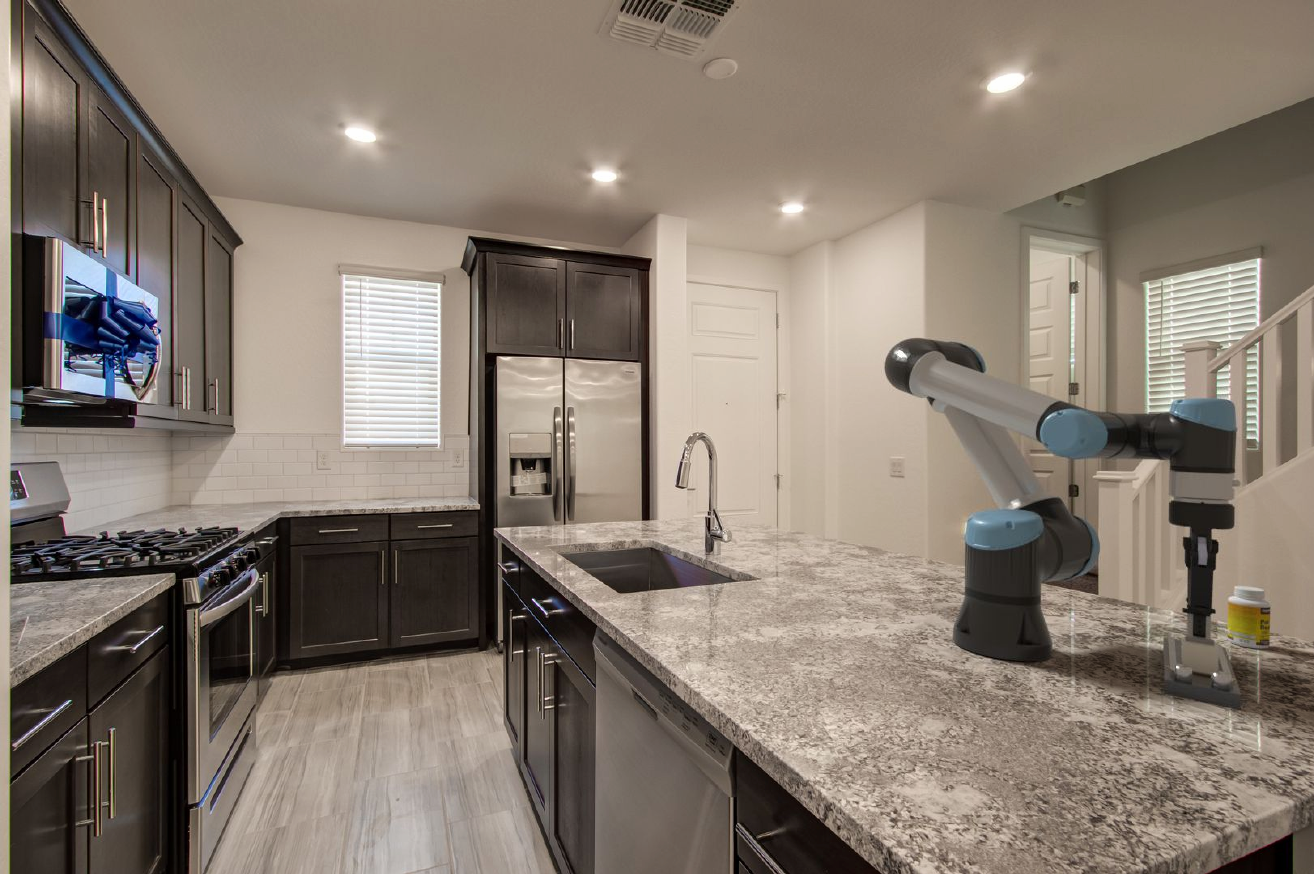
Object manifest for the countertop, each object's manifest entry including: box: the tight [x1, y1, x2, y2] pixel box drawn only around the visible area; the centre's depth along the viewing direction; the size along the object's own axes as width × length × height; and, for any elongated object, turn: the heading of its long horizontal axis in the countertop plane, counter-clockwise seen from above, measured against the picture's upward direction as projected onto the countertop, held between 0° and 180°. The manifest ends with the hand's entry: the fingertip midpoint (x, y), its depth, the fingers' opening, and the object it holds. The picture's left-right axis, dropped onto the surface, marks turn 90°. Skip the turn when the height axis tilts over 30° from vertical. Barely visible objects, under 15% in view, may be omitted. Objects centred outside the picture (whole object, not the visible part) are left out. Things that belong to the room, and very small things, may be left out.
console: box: [1162, 636, 1242, 710], centre depth 97 cm, size 8×26×4 cm, turn 141°
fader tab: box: [1181, 635, 1219, 675], centre depth 92 cm, size 4×3×5 cm
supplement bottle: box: [1227, 585, 1271, 650], centre depth 113 cm, size 6×6×10 cm
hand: (1198, 656), depth 94 cm, fingers closed
